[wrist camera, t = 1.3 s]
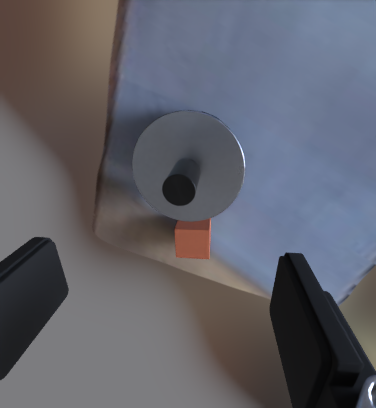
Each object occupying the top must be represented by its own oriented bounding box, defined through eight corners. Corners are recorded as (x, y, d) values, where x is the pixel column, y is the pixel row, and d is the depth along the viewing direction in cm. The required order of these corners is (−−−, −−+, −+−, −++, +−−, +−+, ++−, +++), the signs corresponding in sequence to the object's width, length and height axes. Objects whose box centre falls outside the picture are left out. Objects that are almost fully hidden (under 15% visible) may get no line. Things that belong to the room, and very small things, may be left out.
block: (179, 213, 37) (174, 229, 32) (210, 214, 36) (209, 230, 32) (181, 238, 39) (176, 257, 34) (210, 240, 38) (209, 259, 34)
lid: (181, 81, 22) (166, 76, 16) (268, 165, 25) (284, 187, 19) (115, 172, 27) (86, 193, 21) (193, 234, 29) (186, 269, 23)
